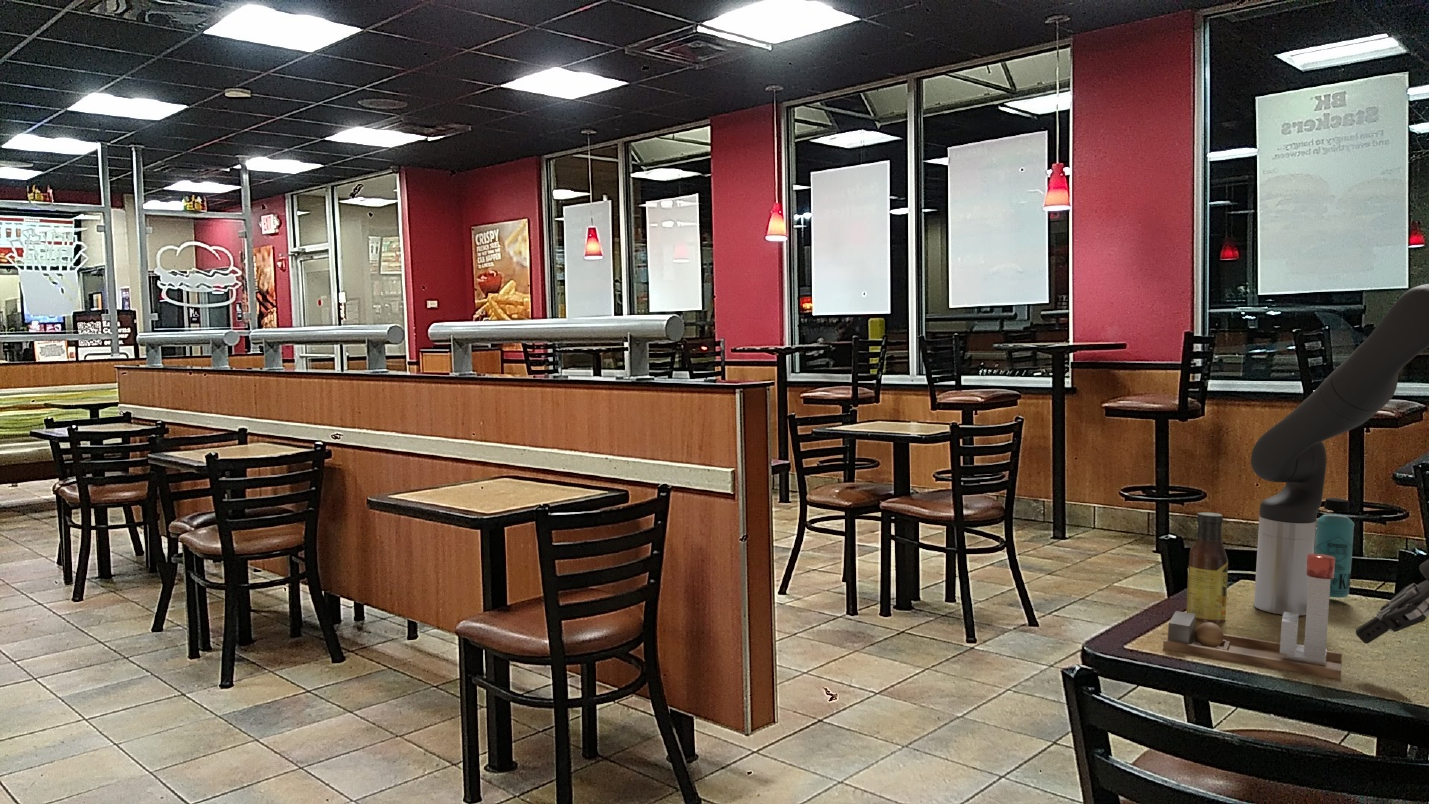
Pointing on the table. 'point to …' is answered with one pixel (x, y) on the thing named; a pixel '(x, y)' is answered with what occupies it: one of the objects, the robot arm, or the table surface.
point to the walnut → (1209, 634)
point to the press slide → (1311, 615)
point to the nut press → (1243, 649)
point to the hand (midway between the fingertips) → (1360, 637)
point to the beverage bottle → (1336, 544)
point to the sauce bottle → (1208, 571)
